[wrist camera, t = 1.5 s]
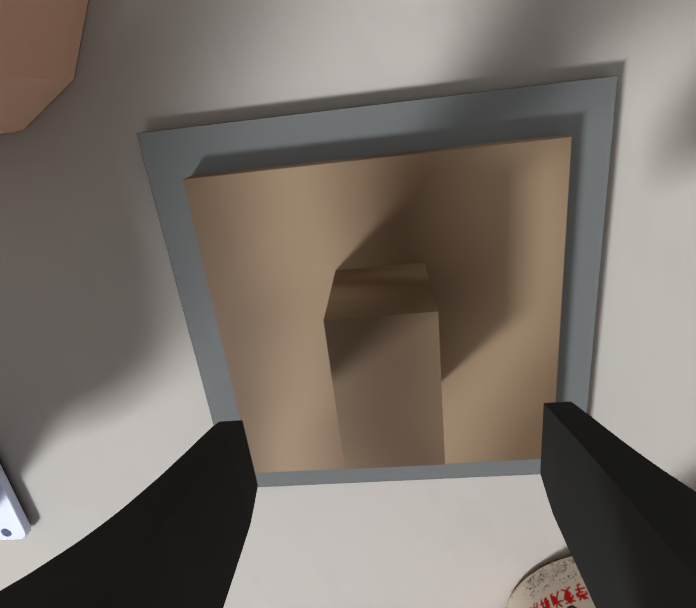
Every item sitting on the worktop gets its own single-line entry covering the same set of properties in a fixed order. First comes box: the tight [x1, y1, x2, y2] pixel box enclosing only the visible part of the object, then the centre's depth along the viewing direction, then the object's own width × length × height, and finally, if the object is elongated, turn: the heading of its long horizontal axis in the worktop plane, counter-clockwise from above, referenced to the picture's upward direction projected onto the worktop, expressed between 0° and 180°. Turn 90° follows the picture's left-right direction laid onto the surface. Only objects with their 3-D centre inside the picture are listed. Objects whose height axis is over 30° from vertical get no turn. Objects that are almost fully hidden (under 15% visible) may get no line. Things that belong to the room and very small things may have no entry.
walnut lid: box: [183, 135, 572, 473], centre depth 16 cm, size 12×12×5 cm
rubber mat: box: [137, 76, 618, 487], centre depth 18 cm, size 15×15×1 cm
